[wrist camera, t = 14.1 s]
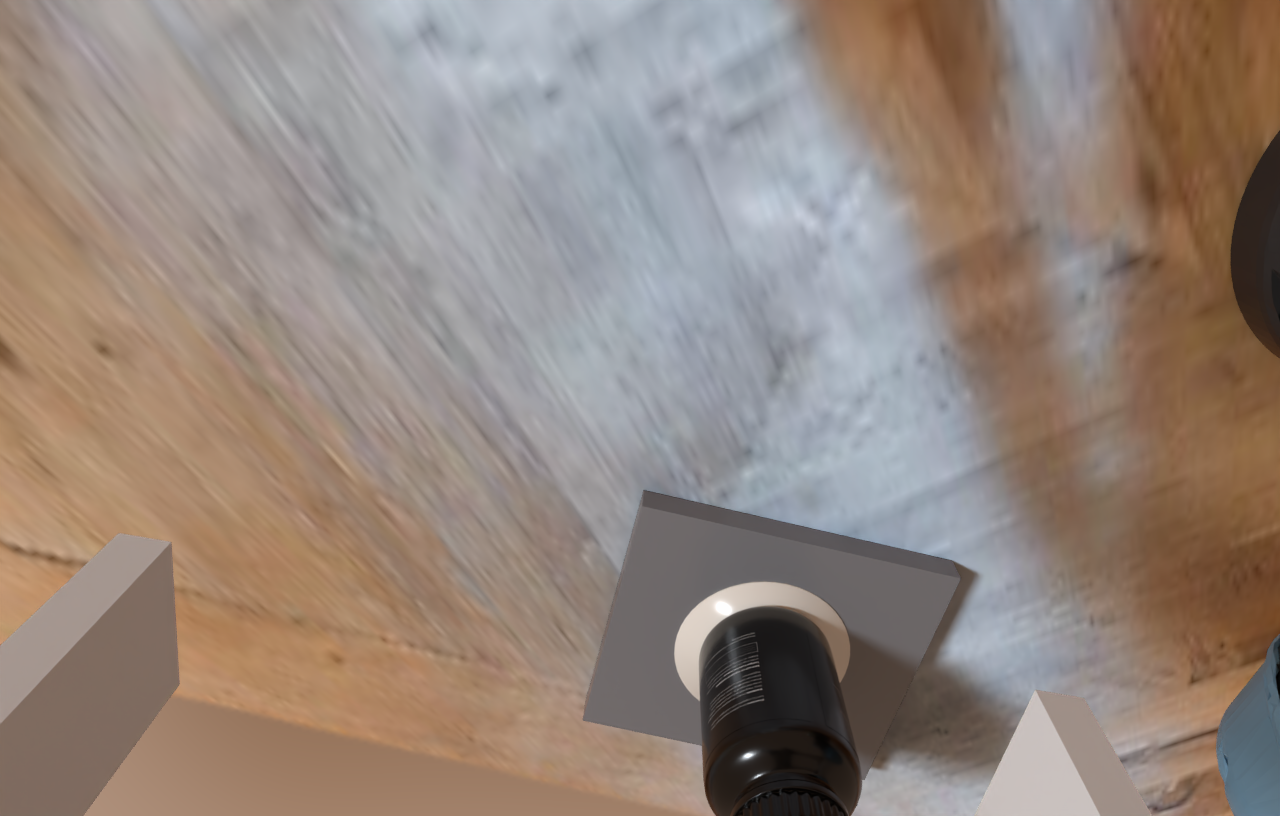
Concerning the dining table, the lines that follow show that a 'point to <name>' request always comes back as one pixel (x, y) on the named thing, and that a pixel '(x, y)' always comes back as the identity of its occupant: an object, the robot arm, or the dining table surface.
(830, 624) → the board
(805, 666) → the supplement bottle
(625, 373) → the dining table surface
